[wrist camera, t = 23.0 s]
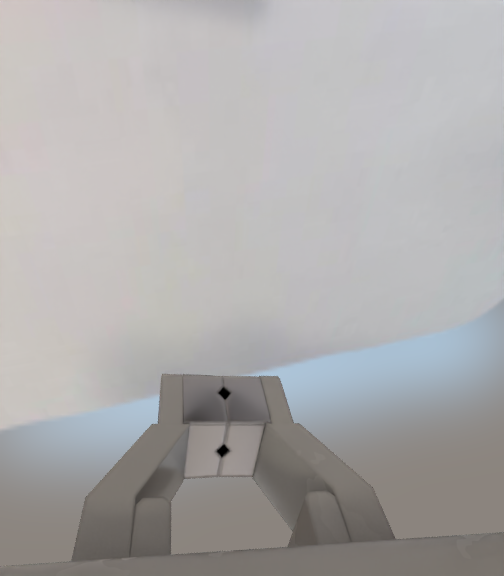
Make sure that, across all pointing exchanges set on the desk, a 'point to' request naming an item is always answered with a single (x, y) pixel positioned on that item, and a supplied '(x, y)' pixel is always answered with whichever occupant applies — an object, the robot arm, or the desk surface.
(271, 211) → the desk surface
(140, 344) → the desk surface
